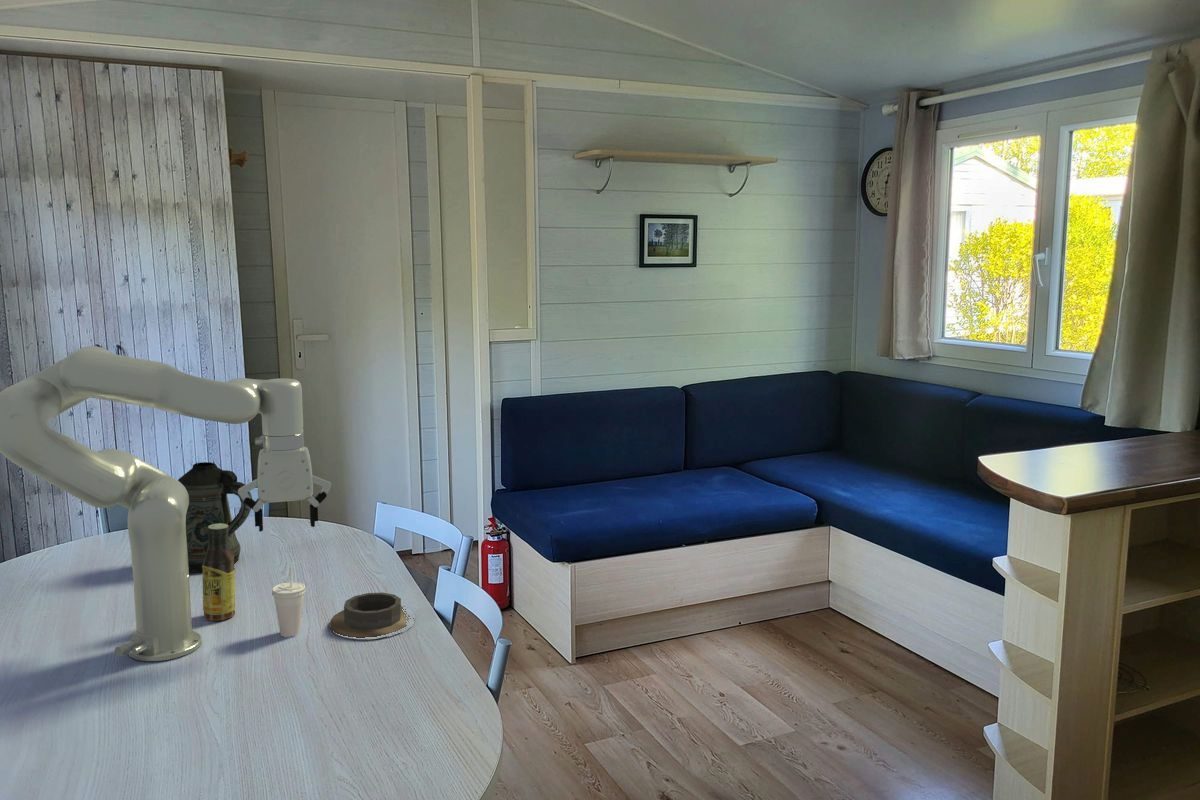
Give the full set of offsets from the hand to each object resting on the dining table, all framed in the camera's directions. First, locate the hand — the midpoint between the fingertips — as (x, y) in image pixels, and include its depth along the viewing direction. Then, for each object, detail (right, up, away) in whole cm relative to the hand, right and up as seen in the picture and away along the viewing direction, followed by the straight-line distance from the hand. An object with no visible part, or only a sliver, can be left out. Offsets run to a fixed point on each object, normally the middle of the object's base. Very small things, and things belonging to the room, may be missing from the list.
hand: (287, 527), depth 176 cm
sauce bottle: (-18, -21, +11) cm, 29 cm away
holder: (+15, -21, +9) cm, 27 cm away
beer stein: (-34, -15, +45) cm, 59 cm away
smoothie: (0, -22, +3) cm, 22 cm away
